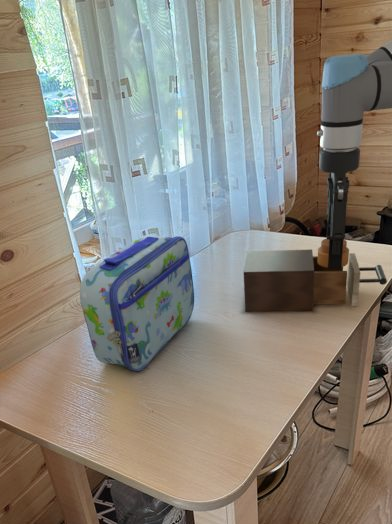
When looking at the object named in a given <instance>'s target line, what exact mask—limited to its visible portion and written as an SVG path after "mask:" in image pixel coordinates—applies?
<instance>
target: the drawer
mask: <svg viewBox="0 0 392 524" xmlns="http://www.w3.org/2000/svg"><path fill="white" fill-rule="evenodd" d="M317 260H318V255H316V256H315V255H313V263H314V293H313V305H316V304H317V305H319V304H320V305H322V304H323V305H324V304H325V305H326V304H329V305H331V304H333V305H335V304H336V305H337V304H346V295H347V290H348V296H349V300H350V304H351V307H358V304H359V293H360V284H361V283H363V284H364V283H367V284H368V283H369V284H370V283H371V284H372V283H373V284H374V283H379V284H380V285H386V284H387V283H388V279H387V277H386V273H385V272H384V269H383V266H382V265H381V264H376V265H375V266H374V267H373V266H371V267H369V266H368V267H359V263H358V259H357V255H356V252H349V258H348V267H347V270H344V266H343V267H341V268H327V267H323V266H321V265H319V264H318V262H317ZM369 271H370V272H372V271H373V272H375V273H376V277H377V278H361V272H369Z"/></svg>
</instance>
